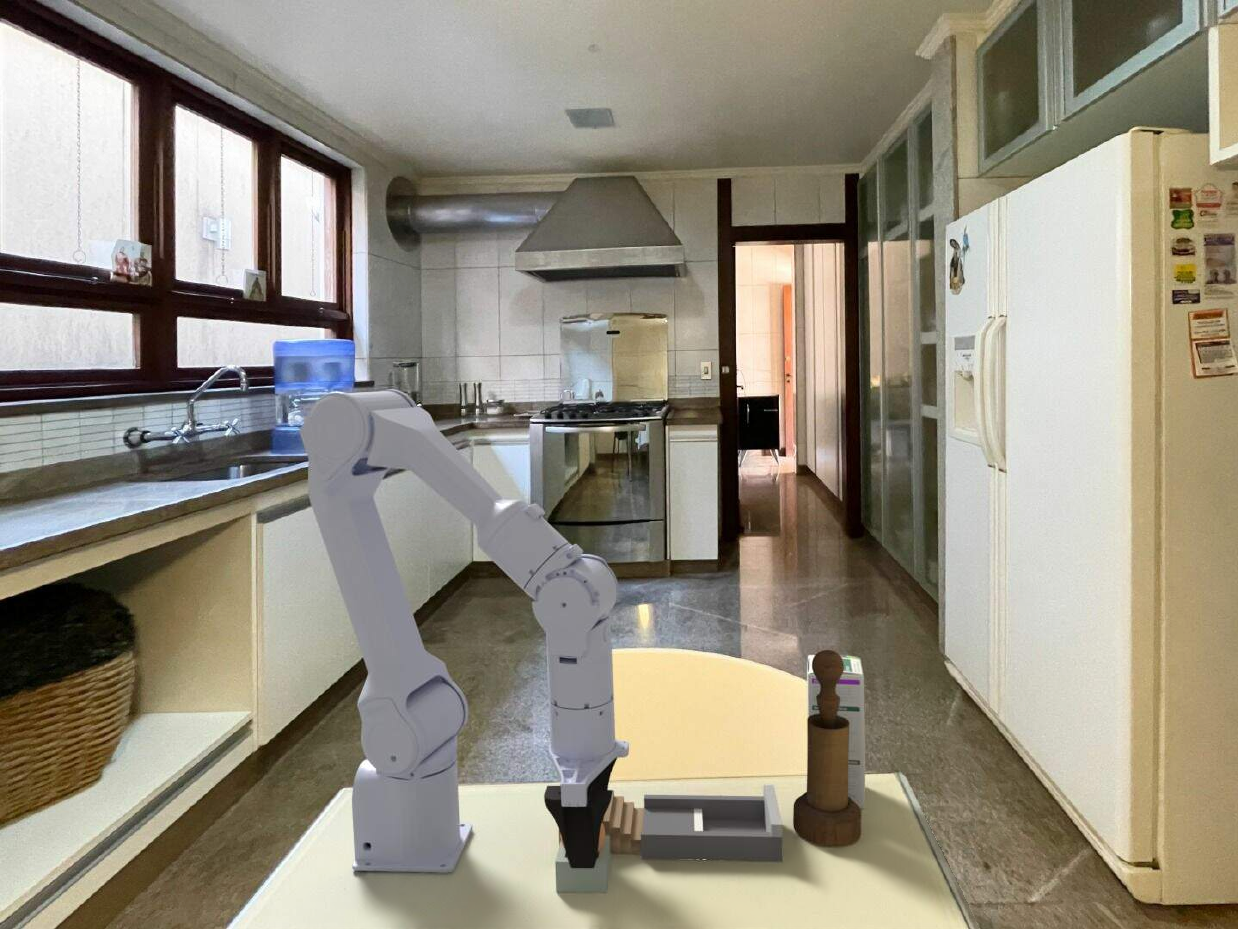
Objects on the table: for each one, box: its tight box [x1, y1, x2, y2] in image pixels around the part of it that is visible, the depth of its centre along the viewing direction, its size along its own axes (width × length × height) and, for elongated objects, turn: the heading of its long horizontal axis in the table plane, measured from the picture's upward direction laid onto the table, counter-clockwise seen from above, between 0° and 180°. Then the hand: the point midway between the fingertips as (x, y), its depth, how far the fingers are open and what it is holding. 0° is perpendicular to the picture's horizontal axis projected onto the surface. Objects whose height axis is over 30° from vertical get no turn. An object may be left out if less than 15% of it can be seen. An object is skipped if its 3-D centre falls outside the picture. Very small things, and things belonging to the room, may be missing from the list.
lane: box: [640, 784, 783, 863], centre depth 84 cm, size 13×8×4 cm, turn 86°
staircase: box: [558, 783, 644, 855], centre depth 84 cm, size 8×6×6 cm
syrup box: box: [806, 654, 866, 810], centre depth 91 cm, size 6×6×14 cm
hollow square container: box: [554, 836, 611, 894], centre depth 78 cm, size 4×4×3 cm
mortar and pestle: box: [792, 649, 862, 848], centre depth 84 cm, size 7×6×18 cm
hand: (587, 844), depth 77 cm, fingers open, 6 cm apart
